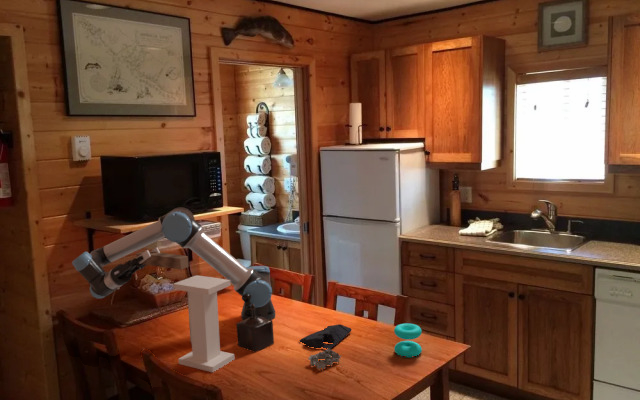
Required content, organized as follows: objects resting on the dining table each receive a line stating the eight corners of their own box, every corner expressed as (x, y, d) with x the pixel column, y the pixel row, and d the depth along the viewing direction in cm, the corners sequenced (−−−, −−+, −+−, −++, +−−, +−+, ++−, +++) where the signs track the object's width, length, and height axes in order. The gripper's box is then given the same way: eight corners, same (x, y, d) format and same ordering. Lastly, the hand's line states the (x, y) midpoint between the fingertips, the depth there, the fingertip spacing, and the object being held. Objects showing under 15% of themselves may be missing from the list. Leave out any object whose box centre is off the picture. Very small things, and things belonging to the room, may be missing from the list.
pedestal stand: (178, 363, 198) (173, 283, 194) (201, 351, 208) (196, 275, 204) (213, 372, 190) (208, 289, 186) (234, 359, 201) (230, 280, 196)
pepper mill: (276, 342, 214) (273, 298, 211) (255, 352, 206) (251, 307, 203) (249, 333, 224) (247, 291, 221) (228, 342, 216) (225, 299, 213)
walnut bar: (137, 263, 206) (136, 253, 206) (145, 261, 210) (144, 250, 209) (180, 269, 196) (180, 258, 195) (188, 266, 199) (188, 256, 199)
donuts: (410, 320, 207) (427, 328, 198) (410, 345, 208) (427, 354, 200) (388, 325, 202) (404, 334, 194) (389, 351, 204) (405, 361, 195)
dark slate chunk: (358, 334, 222) (358, 323, 221) (326, 353, 204) (326, 341, 204) (327, 327, 231) (327, 316, 230) (294, 345, 213) (294, 333, 212)
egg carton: (320, 372, 189) (319, 361, 188) (306, 365, 194) (306, 354, 194) (343, 363, 195) (342, 352, 195) (329, 356, 201) (329, 346, 200)
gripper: (139, 279, 222) (174, 255, 211) (104, 291, 208) (140, 266, 196) (131, 263, 223) (166, 238, 212) (96, 273, 209) (131, 247, 197)
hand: (153, 252), depth 204 cm, fingers closed on walnut bar, 4 cm apart
